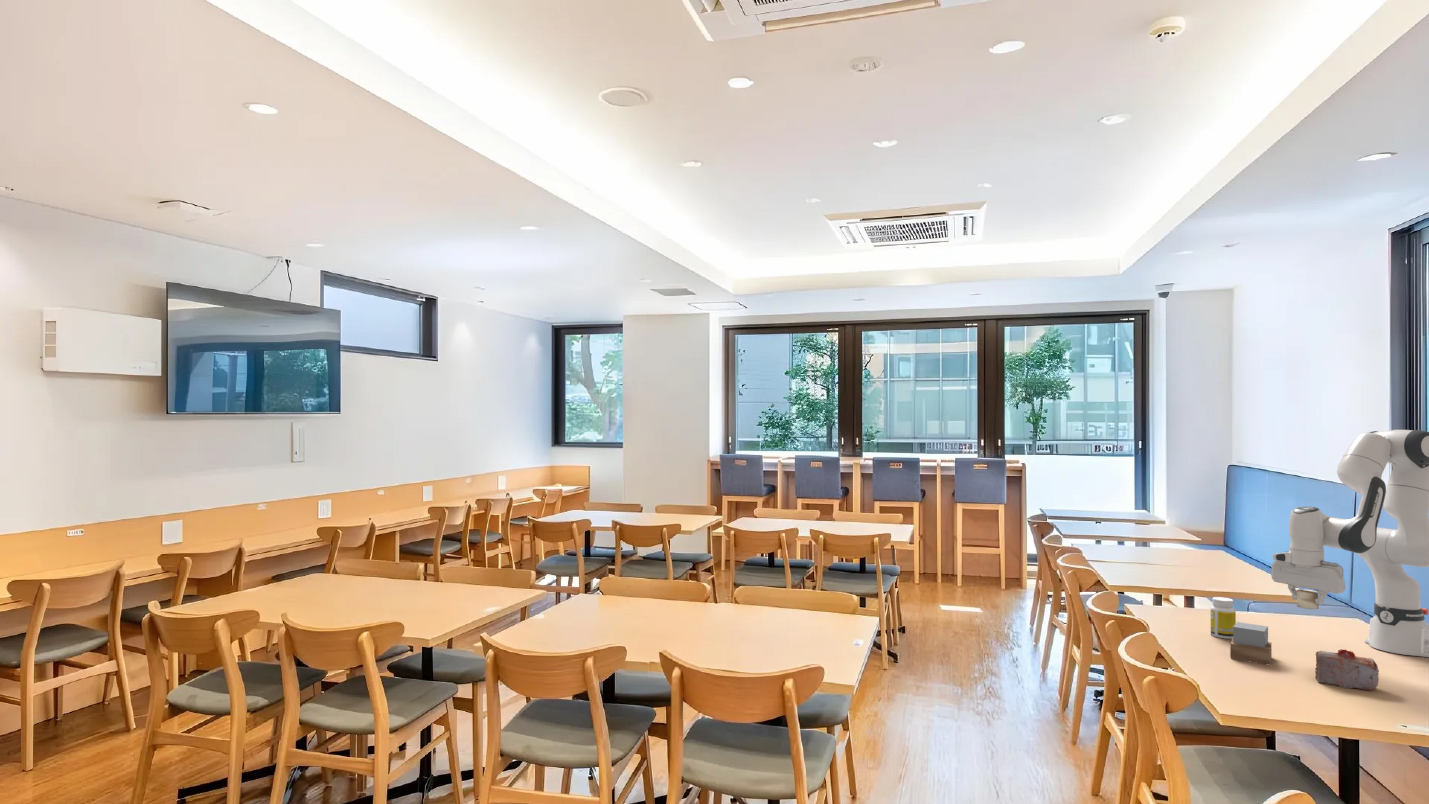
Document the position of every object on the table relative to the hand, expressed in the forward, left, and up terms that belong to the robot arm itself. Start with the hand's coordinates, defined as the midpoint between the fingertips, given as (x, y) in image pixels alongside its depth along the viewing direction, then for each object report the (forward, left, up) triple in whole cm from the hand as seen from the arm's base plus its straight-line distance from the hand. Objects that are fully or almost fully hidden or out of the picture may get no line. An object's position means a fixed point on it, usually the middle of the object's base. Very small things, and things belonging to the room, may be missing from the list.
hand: (1307, 601), depth 247 cm
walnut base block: (+20, -4, -17) cm, 27 cm away
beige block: (0, 0, -2) cm, 2 cm away
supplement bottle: (+5, -24, -17) cm, 30 cm away
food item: (+20, +22, -17) cm, 34 cm away
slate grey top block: (+20, -4, -12) cm, 24 cm away
